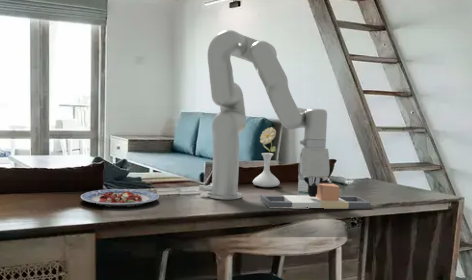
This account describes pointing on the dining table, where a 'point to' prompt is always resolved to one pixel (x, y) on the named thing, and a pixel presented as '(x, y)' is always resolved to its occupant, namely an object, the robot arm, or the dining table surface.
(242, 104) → the robot arm
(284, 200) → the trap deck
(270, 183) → the flower in vase
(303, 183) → the syrup box
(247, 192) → the dining table surface
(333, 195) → the terracotta block
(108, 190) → the ceramic plate
